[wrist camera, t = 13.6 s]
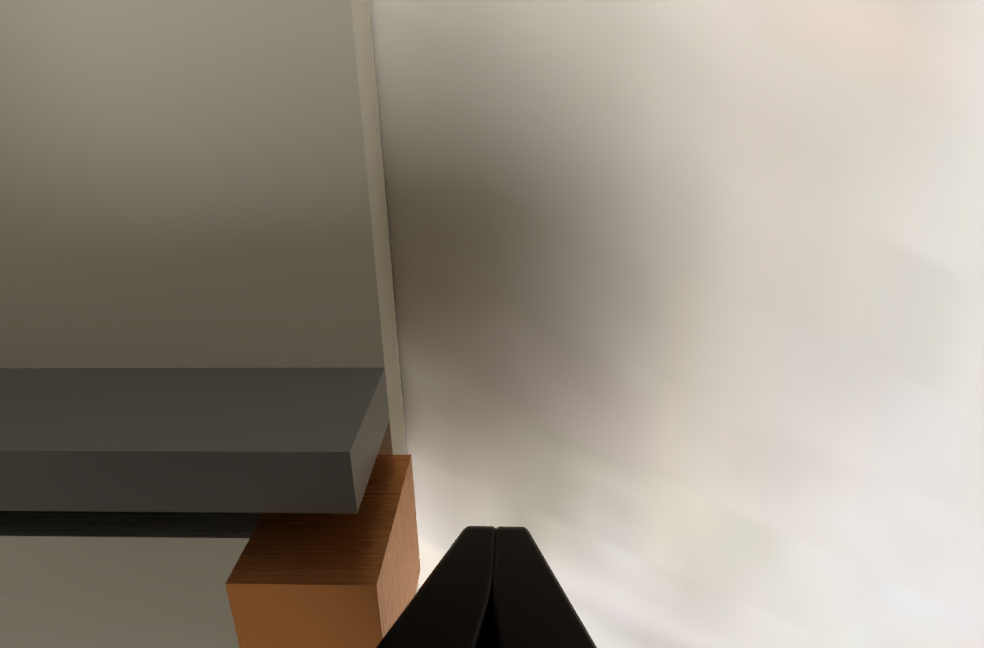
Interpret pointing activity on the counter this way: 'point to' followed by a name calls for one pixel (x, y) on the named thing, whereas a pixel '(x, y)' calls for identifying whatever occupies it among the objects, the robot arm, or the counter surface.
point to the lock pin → (212, 574)
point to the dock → (193, 257)
